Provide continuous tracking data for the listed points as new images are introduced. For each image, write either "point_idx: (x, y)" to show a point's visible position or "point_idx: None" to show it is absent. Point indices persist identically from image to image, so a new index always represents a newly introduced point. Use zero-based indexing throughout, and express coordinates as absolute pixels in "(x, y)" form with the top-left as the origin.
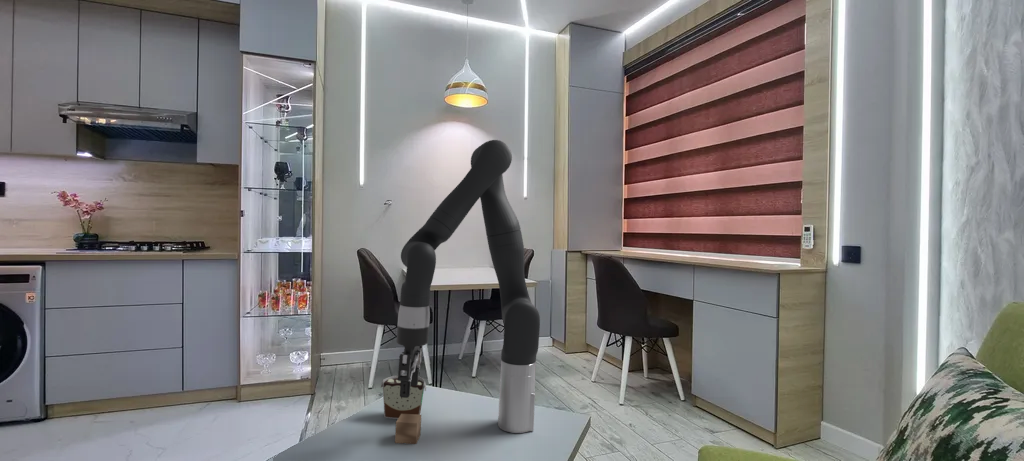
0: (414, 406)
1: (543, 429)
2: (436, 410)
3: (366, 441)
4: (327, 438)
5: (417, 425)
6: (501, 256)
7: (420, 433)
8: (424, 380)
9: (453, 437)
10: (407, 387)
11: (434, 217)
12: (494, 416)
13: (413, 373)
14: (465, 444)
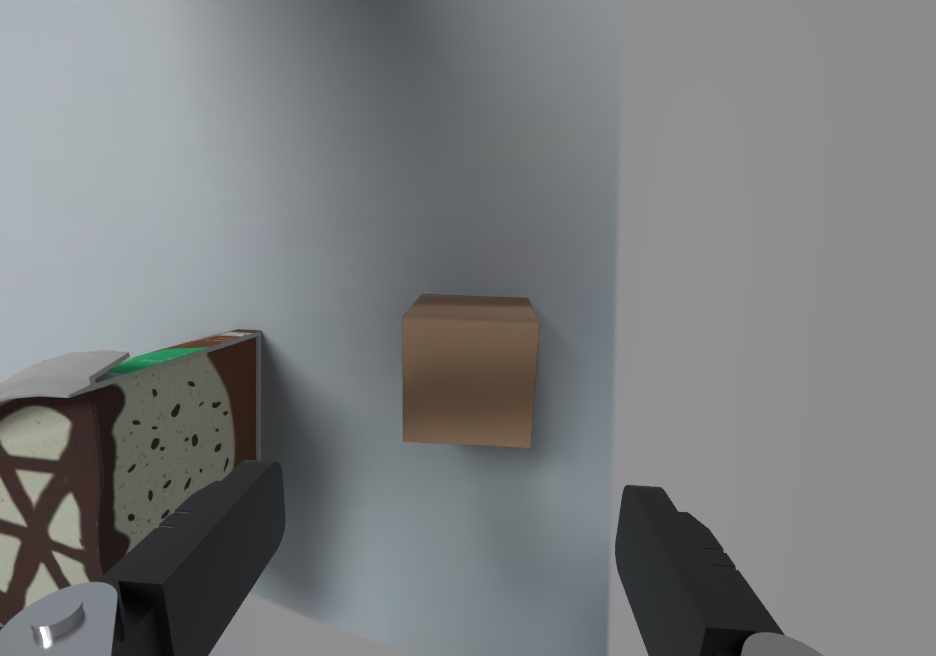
0: (215, 383)
1: None
2: (101, 254)
3: (510, 511)
4: (491, 646)
5: (524, 318)
6: None
7: (422, 295)
8: None
9: (438, 103)
10: (753, 592)
11: None
12: None
13: (201, 607)
14: (522, 15)
